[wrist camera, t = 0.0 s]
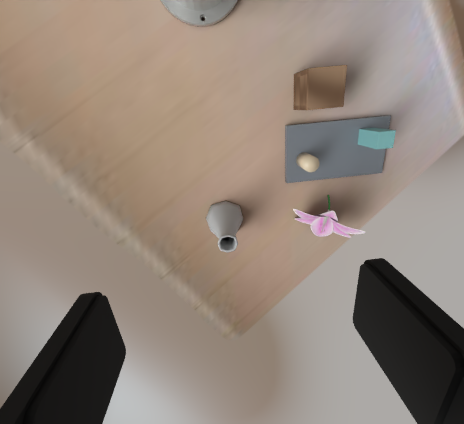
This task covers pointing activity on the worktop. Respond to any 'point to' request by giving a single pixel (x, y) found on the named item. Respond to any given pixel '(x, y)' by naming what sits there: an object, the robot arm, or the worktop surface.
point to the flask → (225, 224)
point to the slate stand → (331, 149)
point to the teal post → (376, 138)
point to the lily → (325, 223)
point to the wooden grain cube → (320, 88)
